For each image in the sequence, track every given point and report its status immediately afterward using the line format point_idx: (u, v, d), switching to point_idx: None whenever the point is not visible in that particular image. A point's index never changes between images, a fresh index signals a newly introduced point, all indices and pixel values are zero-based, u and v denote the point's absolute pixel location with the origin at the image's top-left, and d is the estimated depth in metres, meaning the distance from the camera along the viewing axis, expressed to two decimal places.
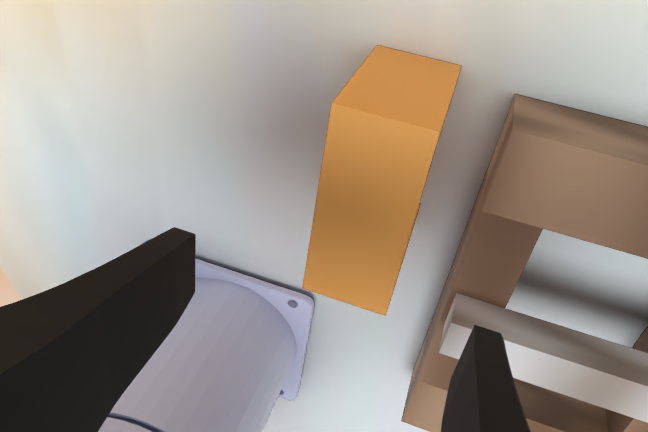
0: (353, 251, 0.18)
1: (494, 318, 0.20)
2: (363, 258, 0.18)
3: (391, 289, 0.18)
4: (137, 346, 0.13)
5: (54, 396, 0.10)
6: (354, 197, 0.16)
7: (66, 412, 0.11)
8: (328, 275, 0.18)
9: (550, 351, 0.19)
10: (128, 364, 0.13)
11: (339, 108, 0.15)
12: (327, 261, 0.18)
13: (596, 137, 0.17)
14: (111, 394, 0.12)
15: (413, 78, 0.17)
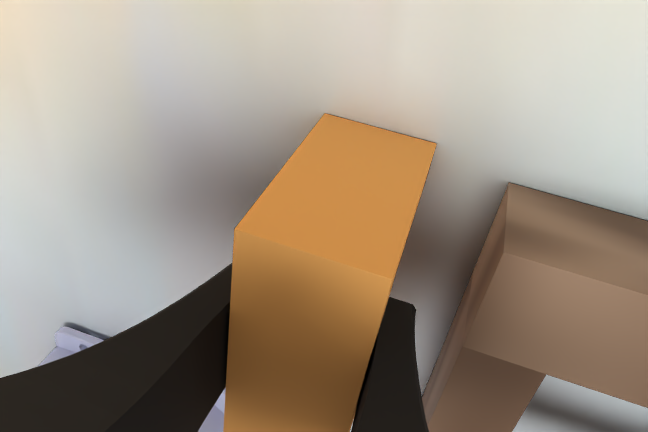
0: (284, 409, 0.13)
1: None
2: (298, 419, 0.13)
3: None
4: (217, 376, 0.12)
5: None
6: (278, 348, 0.12)
7: None
8: None
9: None
10: (209, 394, 0.12)
11: (246, 236, 0.10)
12: (251, 416, 0.13)
13: (622, 259, 0.12)
14: (193, 426, 0.12)
15: (366, 171, 0.12)
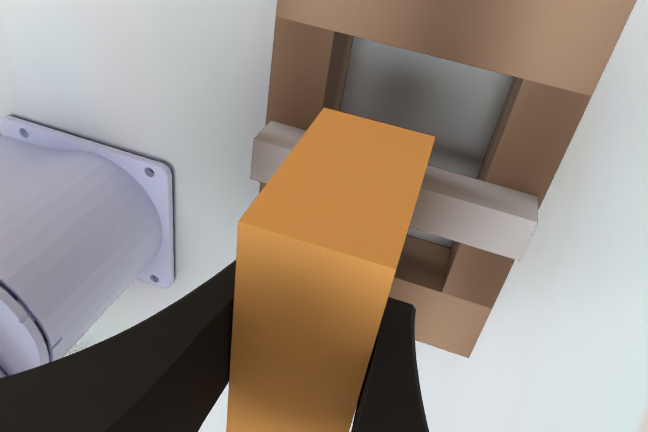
0: (287, 401, 0.13)
1: None
2: (301, 410, 0.13)
3: None
4: (217, 376, 0.12)
5: None
6: (282, 339, 0.12)
7: None
8: (258, 423, 0.14)
9: None
10: (209, 394, 0.12)
11: (250, 228, 0.10)
12: (254, 408, 0.13)
13: None
14: (194, 426, 0.12)
15: (366, 164, 0.12)
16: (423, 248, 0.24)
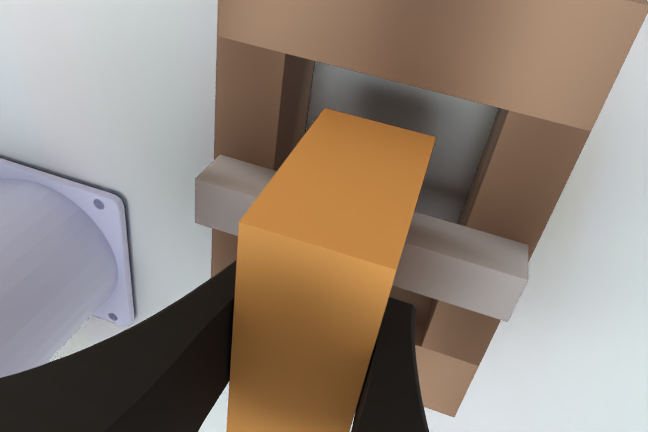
0: (287, 401, 0.13)
1: (254, 177, 0.16)
2: (301, 410, 0.13)
3: None
4: (217, 376, 0.12)
5: None
6: (283, 340, 0.12)
7: None
8: (258, 424, 0.14)
9: None
10: (209, 394, 0.12)
11: (250, 230, 0.10)
12: (255, 409, 0.13)
13: None
14: (193, 426, 0.12)
15: (367, 164, 0.12)
16: (402, 291, 0.21)
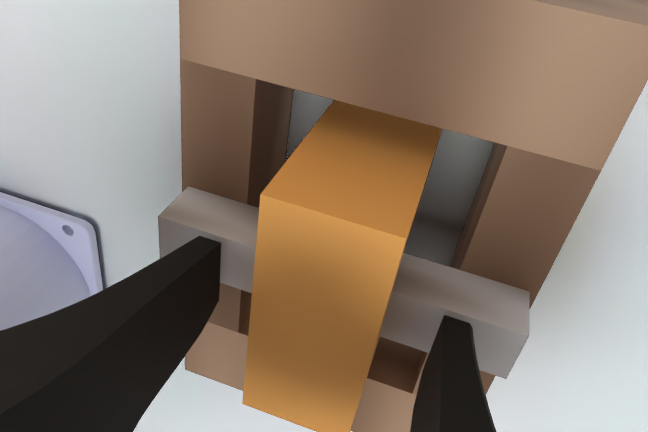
0: (301, 369, 0.14)
1: (224, 214, 0.15)
2: (315, 378, 0.14)
3: (352, 415, 0.14)
4: (164, 356, 0.13)
5: (88, 409, 0.10)
6: (298, 308, 0.12)
7: (98, 425, 0.10)
8: (273, 393, 0.14)
9: None
10: (156, 374, 0.12)
11: (271, 201, 0.11)
12: (270, 377, 0.14)
13: None
14: (139, 405, 0.12)
15: (379, 146, 0.13)
16: None
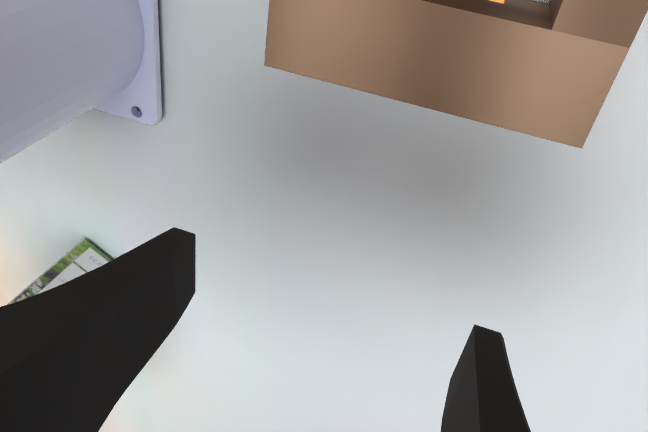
0: None
1: None
2: None
3: None
4: (137, 346, 0.13)
5: (54, 396, 0.10)
6: None
7: (66, 412, 0.11)
8: None
9: None
10: (128, 364, 0.13)
11: None
12: None
13: None
14: (111, 394, 0.12)
15: None
16: (511, 0, 0.17)
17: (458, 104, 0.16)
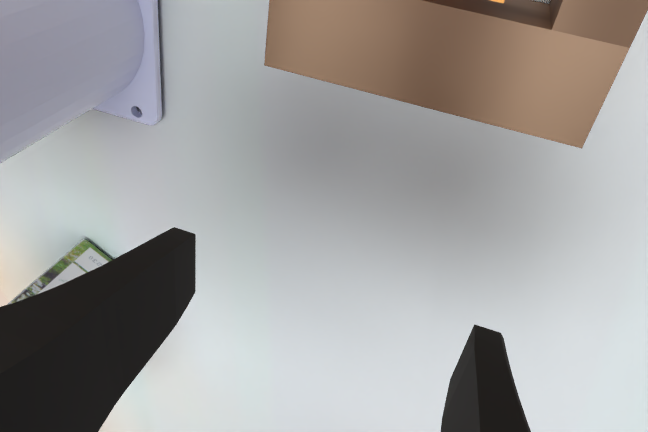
0: None
1: None
2: None
3: None
4: (137, 346, 0.13)
5: (54, 396, 0.10)
6: None
7: (66, 412, 0.11)
8: None
9: None
10: (128, 364, 0.13)
11: None
12: None
13: None
14: (111, 394, 0.12)
15: None
16: (511, 0, 0.17)
17: (458, 104, 0.16)
